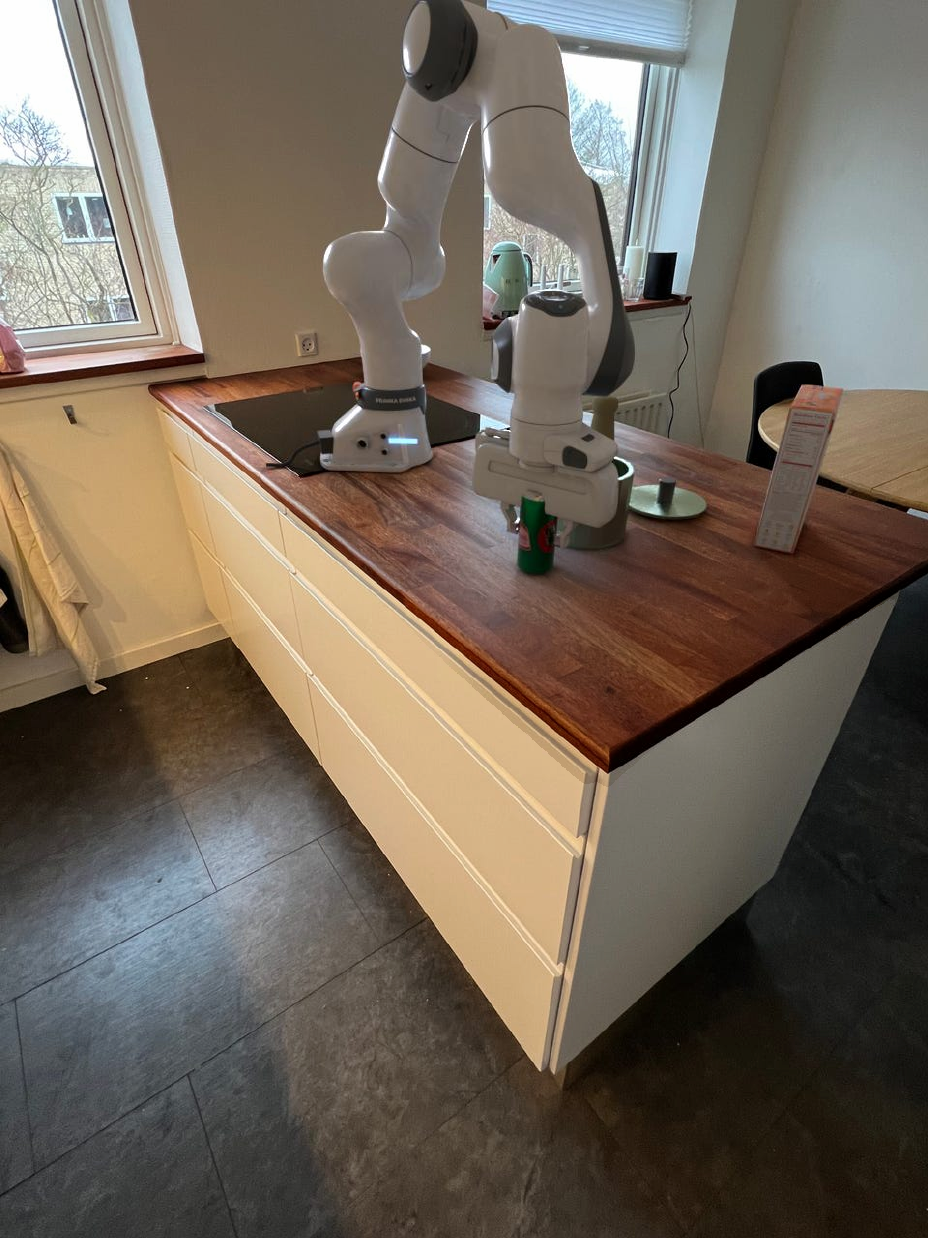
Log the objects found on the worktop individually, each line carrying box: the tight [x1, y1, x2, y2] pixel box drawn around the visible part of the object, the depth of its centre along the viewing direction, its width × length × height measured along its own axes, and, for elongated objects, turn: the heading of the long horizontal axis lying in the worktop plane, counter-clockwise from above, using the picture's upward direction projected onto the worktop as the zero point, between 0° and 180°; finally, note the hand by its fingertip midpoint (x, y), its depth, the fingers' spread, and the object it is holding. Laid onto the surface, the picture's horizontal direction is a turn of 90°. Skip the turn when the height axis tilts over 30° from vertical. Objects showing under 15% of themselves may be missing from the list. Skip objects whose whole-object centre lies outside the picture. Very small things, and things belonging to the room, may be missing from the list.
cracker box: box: [752, 384, 844, 555], centre depth 93 cm, size 14×6×21 cm, turn 150°
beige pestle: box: [589, 394, 620, 442], centre depth 129 cm, size 6×6×11 cm
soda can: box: [516, 489, 558, 576], centre depth 86 cm, size 5×5×12 cm
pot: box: [556, 456, 635, 550], centre depth 96 cm, size 13×18×10 cm
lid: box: [629, 476, 707, 521], centre depth 106 cm, size 14×14×5 cm
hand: (537, 538), depth 86 cm, fingers open, 6 cm apart
